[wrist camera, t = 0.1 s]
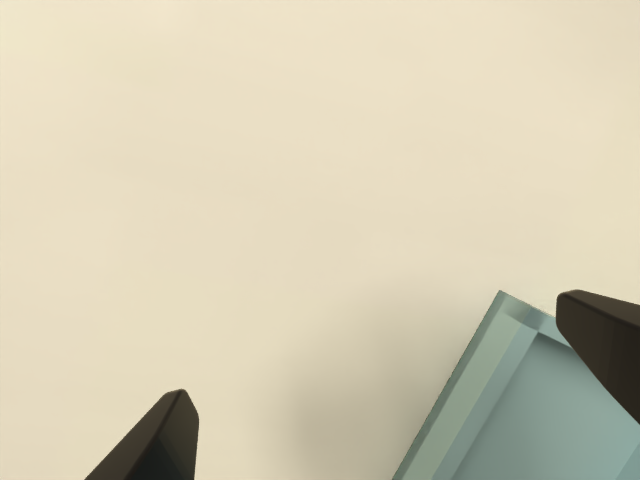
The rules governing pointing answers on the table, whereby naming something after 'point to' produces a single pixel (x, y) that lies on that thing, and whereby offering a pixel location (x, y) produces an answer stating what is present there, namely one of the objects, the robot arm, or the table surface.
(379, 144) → the table surface
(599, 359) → the robot arm
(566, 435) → the tray
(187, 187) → the table surface
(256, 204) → the table surface
